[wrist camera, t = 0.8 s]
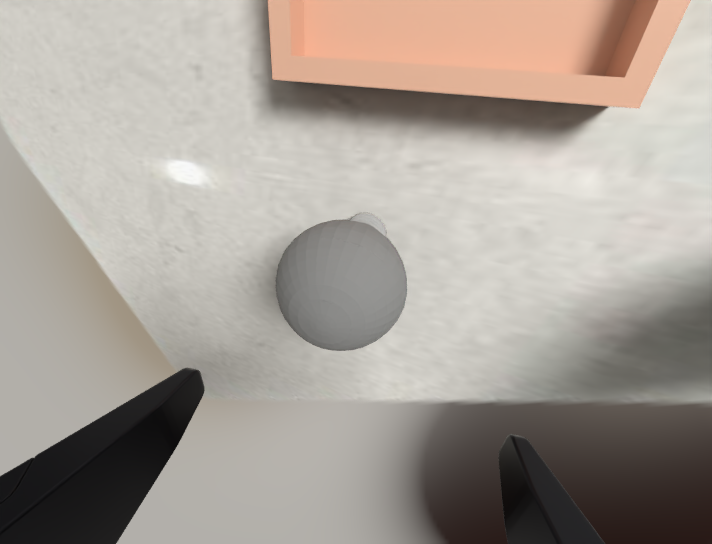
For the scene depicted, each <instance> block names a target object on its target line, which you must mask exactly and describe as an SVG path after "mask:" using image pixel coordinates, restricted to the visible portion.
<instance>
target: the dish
mask: <svg viewBox="0 0 712 544" xmlns="http://www.w3.org/2000/svg"><path fill="white" fill-rule="evenodd" d="M690 1H691V0H268V12H269V29H270V46H271V63H272V79H273V80H281V81H290V82H302V83H315V84H328V85H340V86H353V87H366V88H379V89H391V90H404V91H417V92H429V93H442V94H455V95H467V96H480V97H493V98H505V99H518V100H531V101H543V102H556V103H569V104H582V105H594V106H607V107H625V108H640V105H641V103H642V101H643V99H644V97H645V95H646V93H647V91H648V89H649V87H650V84H651V82H652V80H653V78H654V76H655V74H656V72H657V70H658V68H659V66H660V64H661V61H662V59H663V57H664V55H665V53H666V51H667V49H668V47H669V45H670V43H671V41H672V38H673V36H674V34H675V32H676V30H677V28H678V26H679V24H680V22H681V20H682V18H683V15H684V13H685V11H686V9H687V7H688V5H689V3H690Z"/></svg>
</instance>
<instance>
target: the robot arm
mask: <svg viewBox="0 0 712 544" xmlns="http://www.w3.org/2000/svg"><path fill="white" fill-rule="evenodd" d="M203 394H204V384H203V380H202V377H201V373H200V371H199V370H196V369H191V368H185V369H182V370H180V371H179V372H177V373H175V374H174V375H172V376H170V377H169V378H167V379H165V380H164V381H162V382H160V383H158V384H157V385H155V386H153V387H152V388H150V389H148V390H147V391H145V392H143V393H141V394H140V395H138V396H136V397H135V398H133V399H131V400H129V401H128V402H126V403H124V404H123V405H121V406H119V407H118V408H116V409H114V410H112V411H111V412H109V413H107V414H106V415H104V416H102V417H101V418H99V419H97V420H95V421H94V422H92V423H90V424H89V425H87V426H85V427H84V428H82V429H80V430H78V431H77V432H75V433H73V434H72V435H70V436H68V437H67V438H65V439H63V440H61V441H60V442H58V443H56V444H55V445H53V446H51V447H50V448H48V449H46V450H45V451H43V452H41V453H39V454H38V455H37V456H35V458H31V459H29V460H27V461H26V462H24V463H22V464H20V465H19V466H17V467H16V468H14V469H12V470H10V471H8V472H7V473H5V474H3V475H2V476H0V544H116V543H117V541H118V540H119V538H120V537H121V535H122V533H123V532H124V530H125V529H126V527H127V525H128V524H129V522H130V521H131V519H132V517H133V516H134V514H135V513H136V511H137V509H138V508H139V506H140V505H141V503H142V501H143V500H144V498H145V497H146V495H147V493H148V492H149V490H150V489H151V487H152V486H153V484H154V482H155V481H156V479H157V478H158V476H159V474H160V473H161V471H162V470H163V468H164V466H165V465H166V463H167V462H168V460H169V458H170V456H171V455H172V454H173V452H174V450H175V449H176V447H177V445H178V443H179V441H180V440H181V438H182V436H183V434H184V432H185V430H186V428H187V426H188V424H189V422H190V420H191V418H192V416H193V414H194V412H195V410H196V408H197V406H198V404H199V402H200V400H201V398H202V396H203ZM499 469H500V479H501V491H502V503H503V514H504V523H505V529H506V535H507V540H508V544H605V543H604V542H603V540H602V539H601V538H600V536H599V535H598V534H597V532H596V531H595V530H594V528H593V527H592V526H591V524H590V523H589V521H588V520H587V519H586V517H585V516H584V515H583V513H582V512H581V511H580V509H579V508H578V507H577V505H576V504H575V503H574V501H573V500H572V499H571V497H570V496H569V495H568V493H567V492H566V490H565V489H564V488H563V486H562V485H561V484H560V482H559V481H558V480H557V478H556V477H555V476H554V474H553V473H552V472H551V470H550V469H549V468H548V466H547V465H546V463H545V462H544V461H543V459H542V458H541V457H540V455H539V454H538V453H537V451H536V450H535V449H534V447H533V446H532V445H531V444H530V442H529V441H528V440H527V439H526V438H525V437H523V436H518V435H513V434H510V435H508V436H507V438H506V440H505V441H504V443H503V445H502V447H501V449H500V451H499Z"/></svg>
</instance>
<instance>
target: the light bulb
mask: <svg viewBox="0 0 712 544" xmlns="http://www.w3.org/2000/svg"><path fill="white" fill-rule="evenodd" d="M276 292H277V299H278V302H279V306H280V309H281V312H282V314H283V316H284V318H285V319H286V321H287V322H288V324H289V325H290V326H291V328H292V329H293V330H294V331H295V332H296V333H297V334H298V335H299V336H300V337H302V338H303V339H304V340H306V341H307V342H309V343H311V344H313V345H315V346H318V347H320V348H323V349H328V350H336V351H345V350H354V349H358V348H362V347H364V346H367V345H369V344H371V343H373V342H375V341H376V340H378V339H379V338H381V337H382V336H383V335H384V334H386V333H387V332H388V331H389V330H390V329H391V327H392V326H393V325H394V324H395V323H396V321H397V320H398V318H399V316H400V314H401V312H402V310H403V308H404V305H405V300H406V295H407V278H406V272H405V268H404V265H403V262H402V260H401V258H400V256H399V254H398V252H397V250H396V248H395V247H394V246H393V244H392V243H391V242H390V241H389V239H388V238H386V228H385V225H384V223H383V222H382V221H381V219H380V218H378V217H377V216H376V215H374V214H371V213H359V214H357V215H355V216H354V217H352V219H351V220H332V221H328V222H324V223H320V224H317V225H315V226H313V227H311V228H309V229H307V230H306V231H304V232H303V233H302V234H300V235H299V236H298V237H297V238H295V239H294V240H293V241H292V242H291V244H290V245H289V246H288V248H287V249H286V250H285V251H284V254H283V256H282V258H281V261H280V263H279V265H278V271H277V277H276Z"/></svg>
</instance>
